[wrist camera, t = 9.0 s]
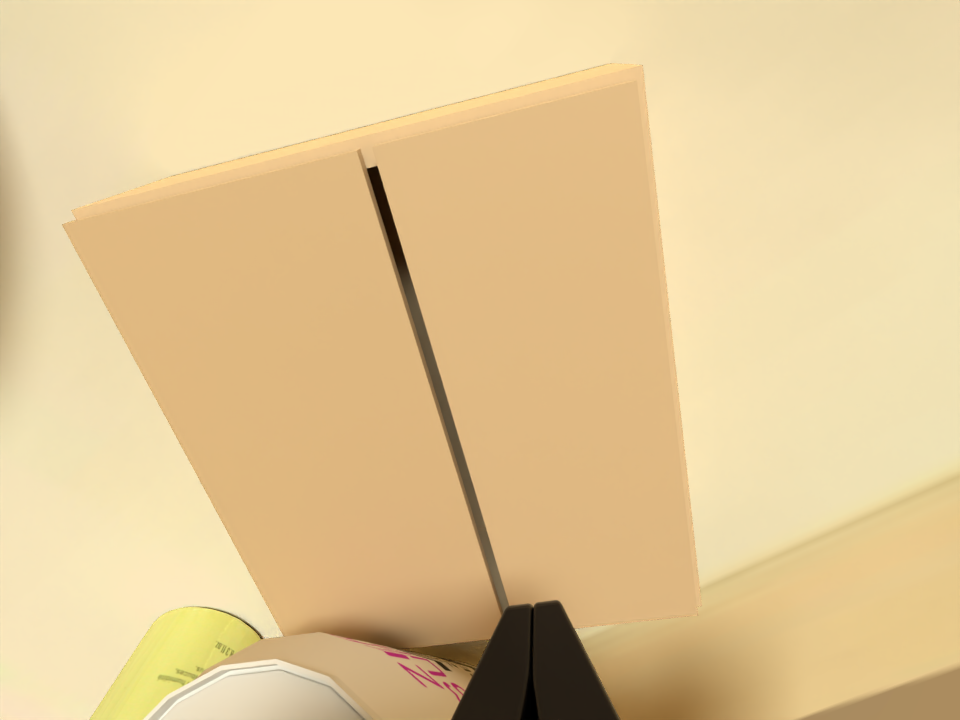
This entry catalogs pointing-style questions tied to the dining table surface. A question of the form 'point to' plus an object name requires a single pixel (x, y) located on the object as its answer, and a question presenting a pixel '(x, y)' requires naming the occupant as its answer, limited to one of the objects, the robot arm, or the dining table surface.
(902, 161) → the dining table surface
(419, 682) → the supplement can
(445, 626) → the carton
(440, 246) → the flap
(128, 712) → the tube
